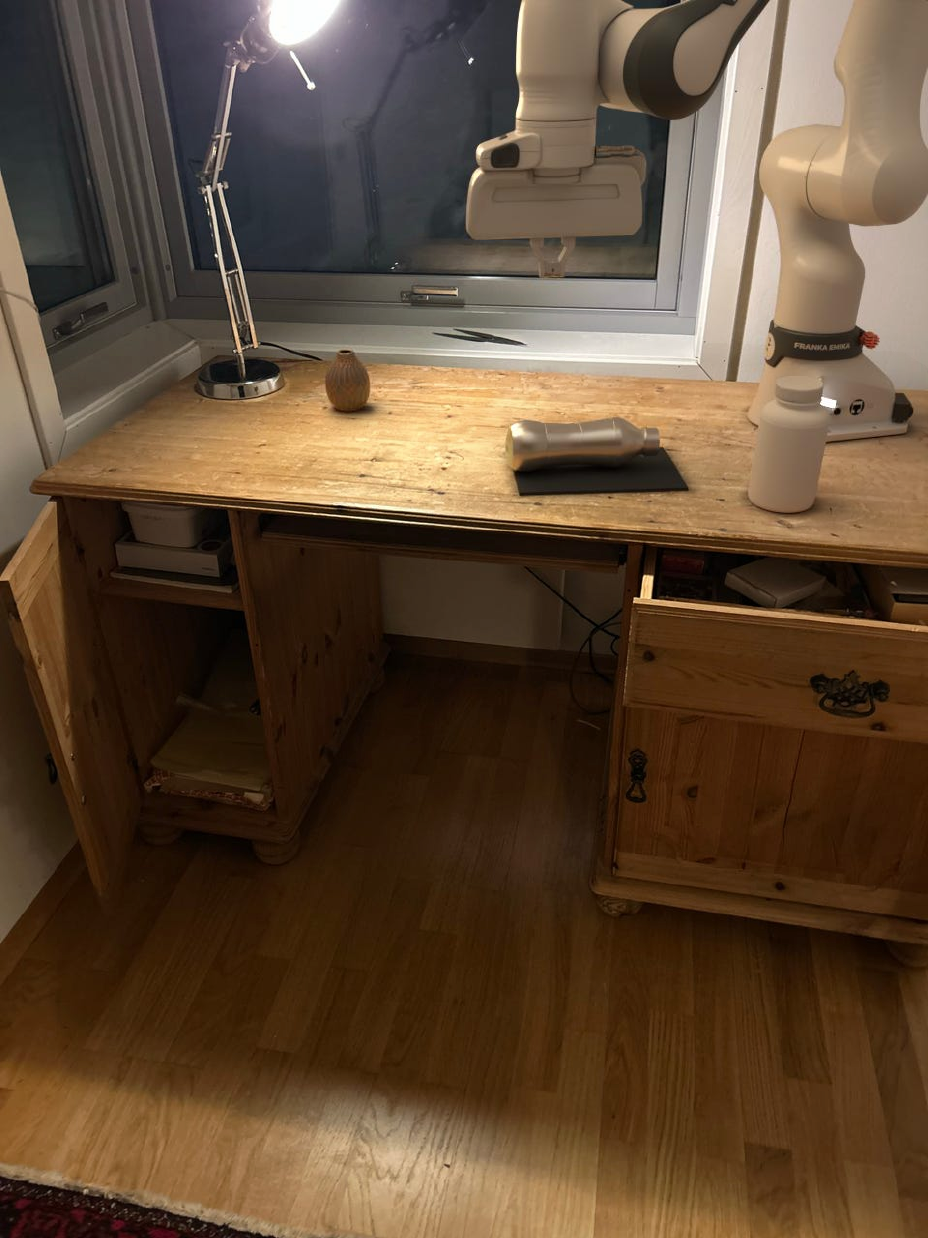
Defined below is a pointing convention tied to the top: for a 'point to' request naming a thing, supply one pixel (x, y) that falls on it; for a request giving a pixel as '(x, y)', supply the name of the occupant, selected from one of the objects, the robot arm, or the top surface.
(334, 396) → the vase
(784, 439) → the pill bottle
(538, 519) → the top surface
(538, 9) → the robot arm
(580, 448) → the plastic bottle
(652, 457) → the mat
